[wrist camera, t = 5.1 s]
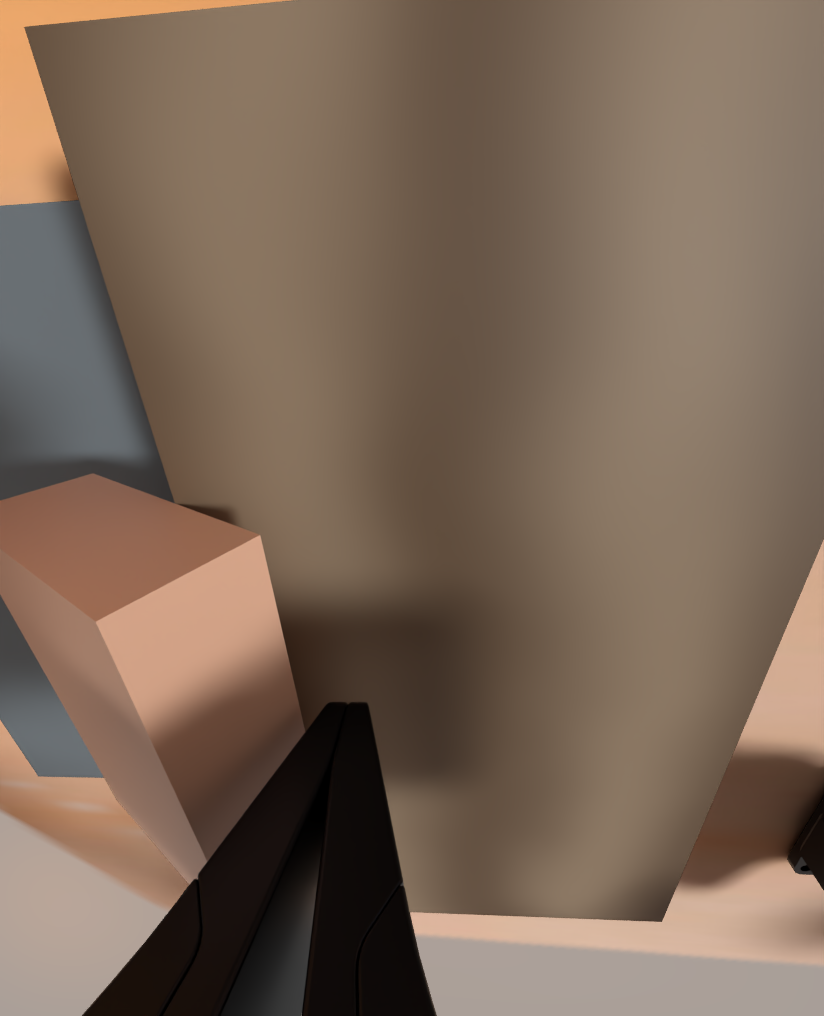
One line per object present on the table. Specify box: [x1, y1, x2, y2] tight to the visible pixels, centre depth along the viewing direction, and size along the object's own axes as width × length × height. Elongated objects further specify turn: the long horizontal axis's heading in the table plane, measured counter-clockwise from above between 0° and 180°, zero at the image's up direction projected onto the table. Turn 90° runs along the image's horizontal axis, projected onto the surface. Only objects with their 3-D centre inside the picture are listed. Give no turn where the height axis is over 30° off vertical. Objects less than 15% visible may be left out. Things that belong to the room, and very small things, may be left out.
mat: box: [0, 200, 175, 778], centre depth 14 cm, size 12×20×1 cm, turn 3°
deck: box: [25, 0, 824, 922], centre depth 12 cm, size 12×22×4 cm, turn 3°
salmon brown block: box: [0, 473, 305, 885], centre depth 10 cm, size 6×9×2 cm, turn 4°
